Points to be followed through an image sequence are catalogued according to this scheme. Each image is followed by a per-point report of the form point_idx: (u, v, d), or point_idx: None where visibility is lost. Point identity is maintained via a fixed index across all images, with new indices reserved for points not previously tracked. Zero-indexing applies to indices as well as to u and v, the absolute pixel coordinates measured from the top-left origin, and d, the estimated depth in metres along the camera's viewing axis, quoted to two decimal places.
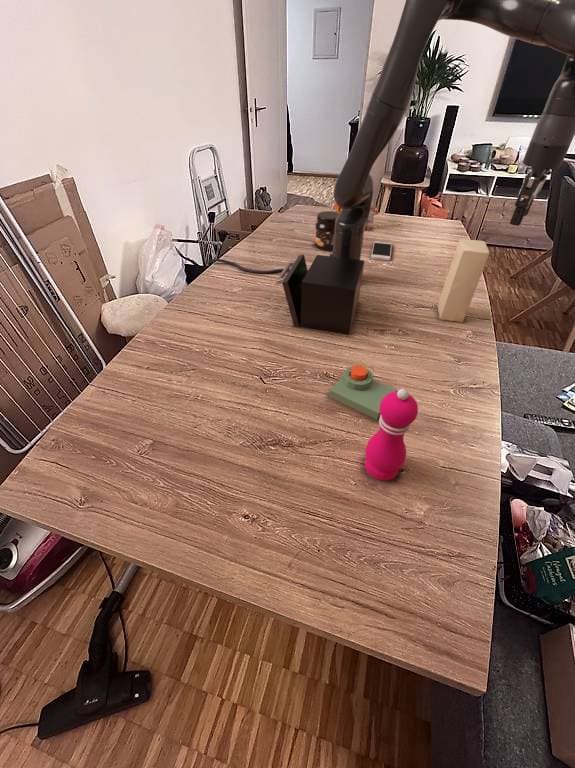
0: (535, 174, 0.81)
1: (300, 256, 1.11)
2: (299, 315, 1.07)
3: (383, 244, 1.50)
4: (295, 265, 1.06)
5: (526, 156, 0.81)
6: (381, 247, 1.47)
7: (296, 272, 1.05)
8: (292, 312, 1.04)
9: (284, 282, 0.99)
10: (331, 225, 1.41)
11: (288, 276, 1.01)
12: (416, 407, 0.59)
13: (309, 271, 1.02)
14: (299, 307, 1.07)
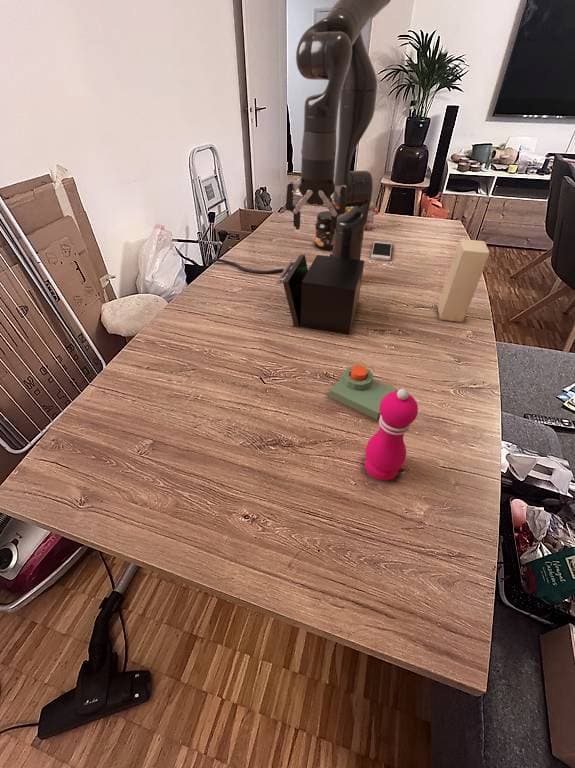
0: None
1: (301, 256, 1.10)
2: (299, 315, 1.07)
3: (383, 244, 1.50)
4: (296, 265, 1.06)
5: None
6: (381, 247, 1.47)
7: (297, 272, 1.05)
8: (293, 312, 1.04)
9: (285, 282, 0.99)
10: None
11: (289, 276, 1.01)
12: (416, 407, 0.59)
13: (309, 271, 1.02)
14: (299, 307, 1.07)
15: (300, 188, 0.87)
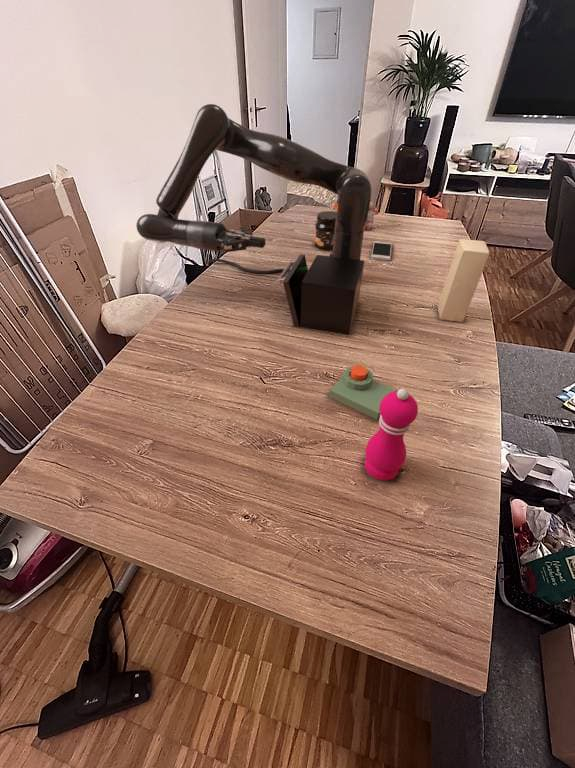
0: None
1: (301, 256, 1.10)
2: (299, 315, 1.07)
3: (383, 244, 1.50)
4: (296, 265, 1.06)
5: None
6: (381, 247, 1.47)
7: (297, 272, 1.05)
8: (293, 312, 1.04)
9: (285, 282, 0.99)
10: (331, 225, 1.41)
11: (289, 276, 1.01)
12: (416, 407, 0.59)
13: (309, 271, 1.02)
14: (299, 307, 1.07)
15: None
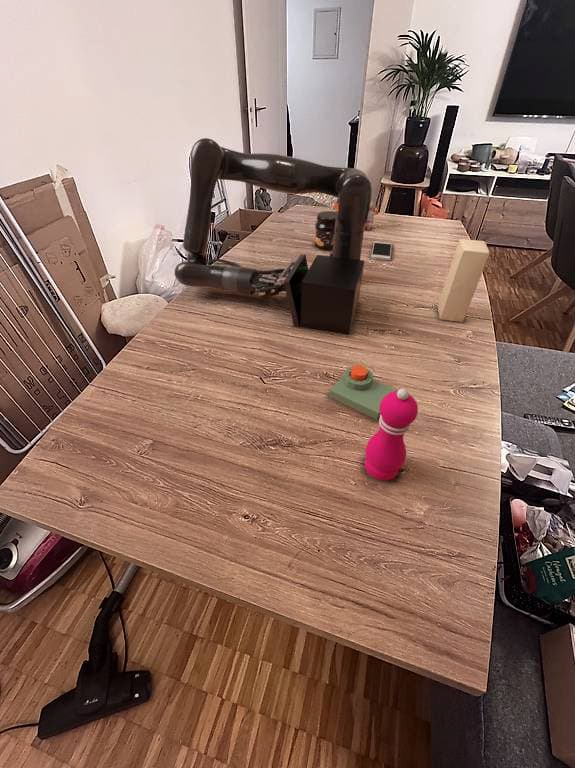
0: None
1: (301, 256, 1.10)
2: (299, 315, 1.07)
3: (383, 244, 1.50)
4: (297, 265, 1.06)
5: None
6: (381, 247, 1.47)
7: (297, 272, 1.05)
8: (293, 312, 1.04)
9: (286, 282, 0.99)
10: (331, 225, 1.41)
11: (290, 276, 1.01)
12: (416, 407, 0.59)
13: (309, 271, 1.02)
14: (299, 307, 1.07)
15: None
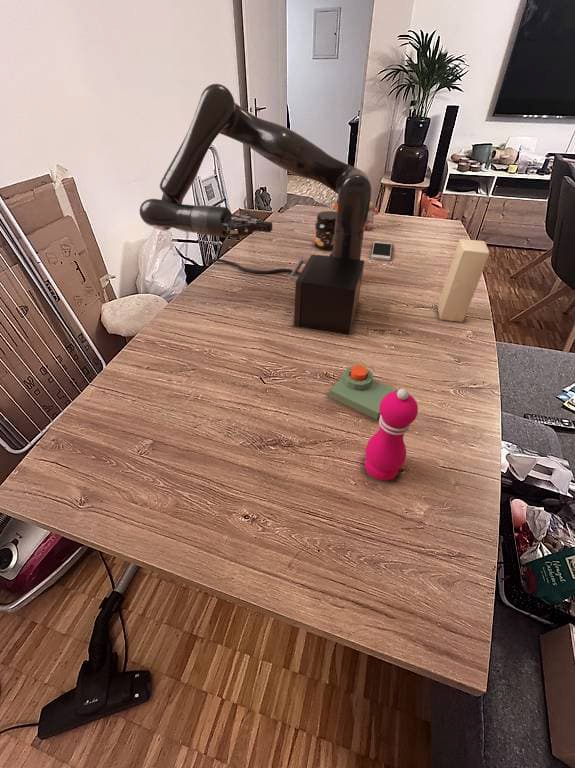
0: None
1: (313, 256, 1.09)
2: None
3: (383, 244, 1.50)
4: (308, 265, 1.05)
5: None
6: (381, 247, 1.47)
7: None
8: (297, 312, 1.04)
9: (298, 282, 0.98)
10: (331, 225, 1.41)
11: (302, 276, 1.00)
12: (416, 407, 0.59)
13: (309, 271, 1.02)
14: None
15: None
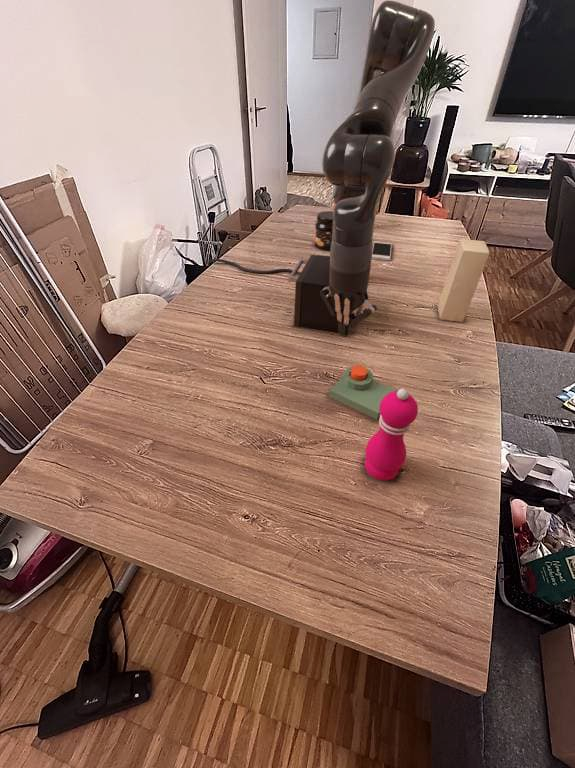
0: None
1: (313, 256, 1.09)
2: None
3: (383, 244, 1.50)
4: (308, 265, 1.05)
5: None
6: (381, 247, 1.47)
7: None
8: (297, 312, 1.04)
9: (298, 282, 0.98)
10: (331, 225, 1.41)
11: (302, 276, 1.00)
12: (416, 407, 0.59)
13: (309, 271, 1.02)
14: None
15: (330, 290, 0.75)
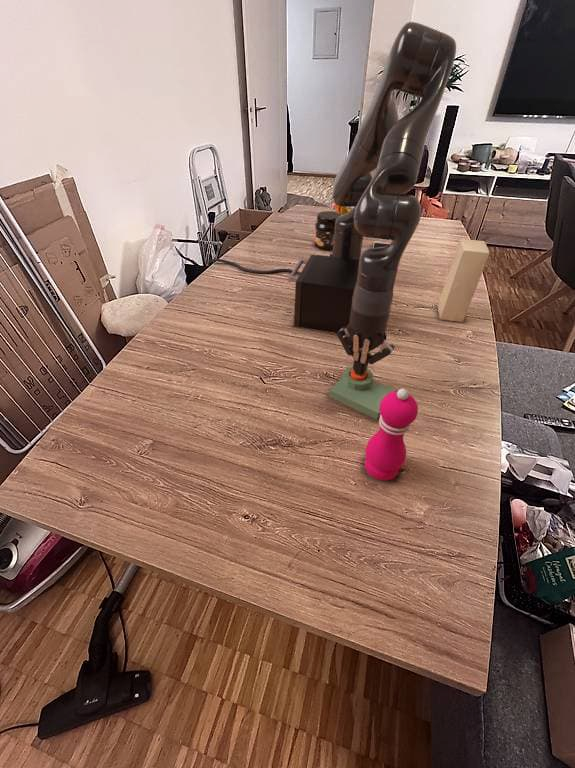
0: None
1: (313, 256, 1.09)
2: None
3: (383, 244, 1.50)
4: (308, 265, 1.05)
5: None
6: None
7: None
8: (297, 312, 1.04)
9: (298, 282, 0.98)
10: (331, 225, 1.41)
11: (302, 276, 1.00)
12: (416, 407, 0.59)
13: (309, 271, 1.02)
14: None
15: (348, 331, 0.79)
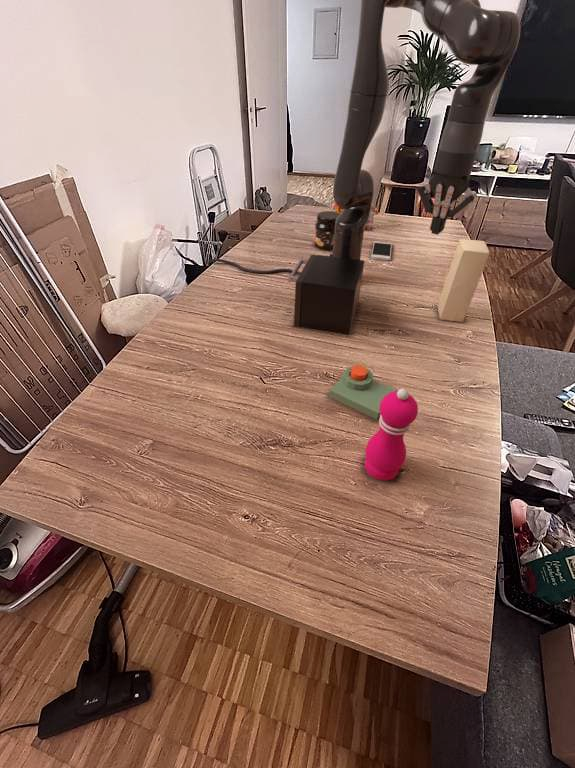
0: None
1: (313, 256, 1.09)
2: None
3: (383, 244, 1.50)
4: (308, 265, 1.05)
5: None
6: (381, 247, 1.47)
7: None
8: (297, 312, 1.04)
9: (298, 282, 0.98)
10: (331, 225, 1.41)
11: (302, 276, 1.00)
12: (416, 407, 0.59)
13: (309, 271, 1.02)
14: None
15: (431, 184, 0.82)
